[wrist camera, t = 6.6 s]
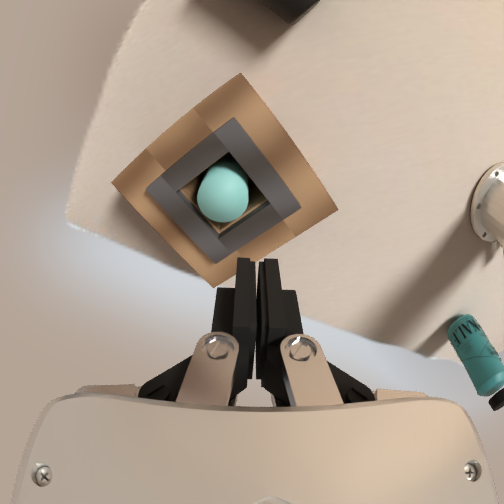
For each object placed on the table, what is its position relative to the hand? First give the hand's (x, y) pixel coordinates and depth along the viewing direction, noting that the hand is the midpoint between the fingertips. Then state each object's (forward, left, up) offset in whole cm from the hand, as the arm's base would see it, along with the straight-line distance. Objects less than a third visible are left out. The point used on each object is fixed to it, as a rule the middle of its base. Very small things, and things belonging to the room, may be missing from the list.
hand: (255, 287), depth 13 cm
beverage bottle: (-44, -15, -22) cm, 52 cm away
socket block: (+1, +2, -21) cm, 21 cm away
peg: (+1, +2, -21) cm, 21 cm away
